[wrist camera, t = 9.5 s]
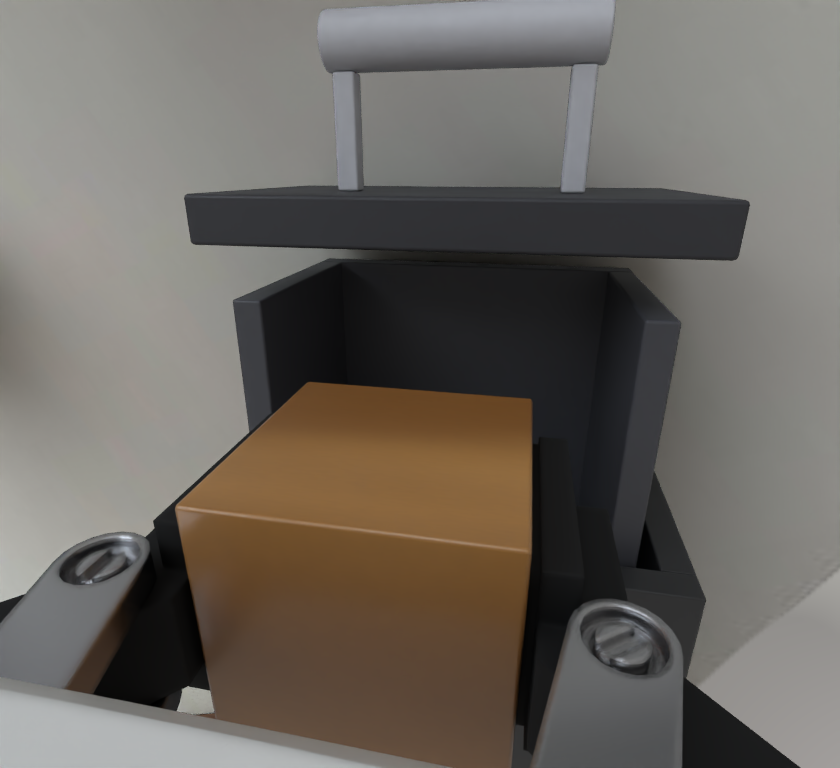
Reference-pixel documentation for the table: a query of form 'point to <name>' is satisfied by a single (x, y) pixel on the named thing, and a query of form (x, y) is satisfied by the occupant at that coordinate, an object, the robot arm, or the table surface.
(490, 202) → the pull-out drawer
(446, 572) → the block
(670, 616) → the drawer cabinet
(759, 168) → the table surface
